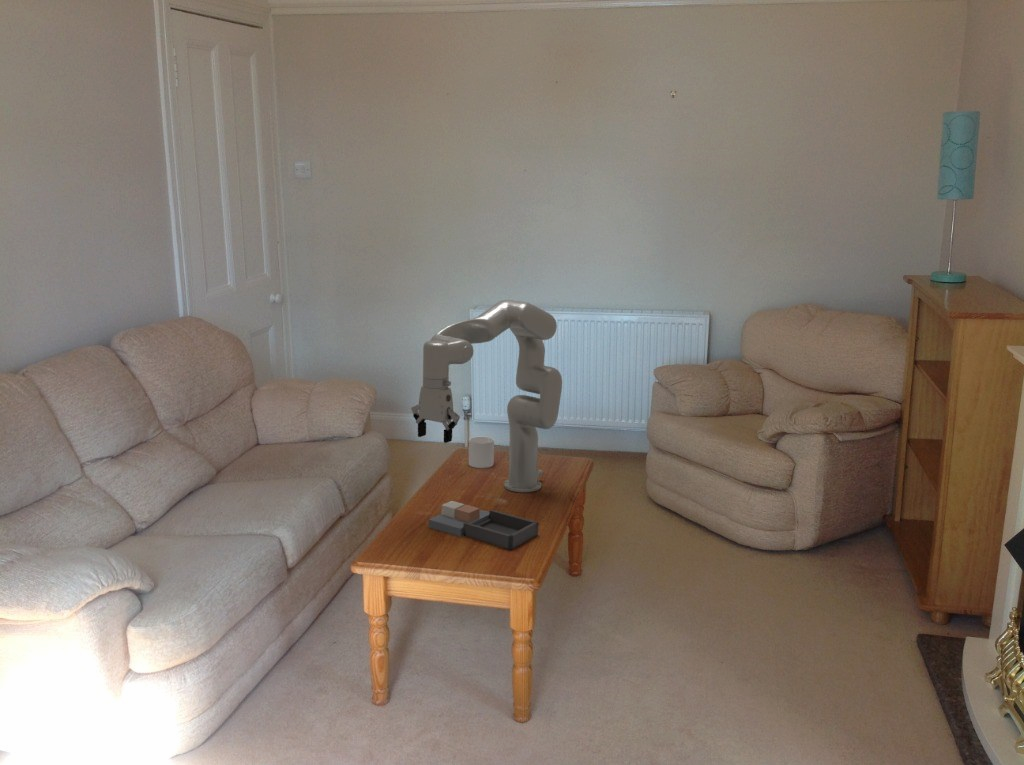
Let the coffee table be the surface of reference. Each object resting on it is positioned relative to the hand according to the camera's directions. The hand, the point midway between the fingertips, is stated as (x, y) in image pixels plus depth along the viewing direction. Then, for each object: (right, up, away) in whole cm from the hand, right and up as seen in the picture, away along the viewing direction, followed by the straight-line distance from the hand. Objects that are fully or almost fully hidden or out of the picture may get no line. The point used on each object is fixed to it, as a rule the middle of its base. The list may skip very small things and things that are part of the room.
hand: (434, 438), depth 287 cm
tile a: (+5, -23, +6) cm, 25 cm away
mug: (+12, -13, +63) cm, 65 cm away
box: (+20, -28, -3) cm, 35 cm away
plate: (+7, -26, +5) cm, 28 cm away
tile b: (+10, -24, +3) cm, 26 cm away
